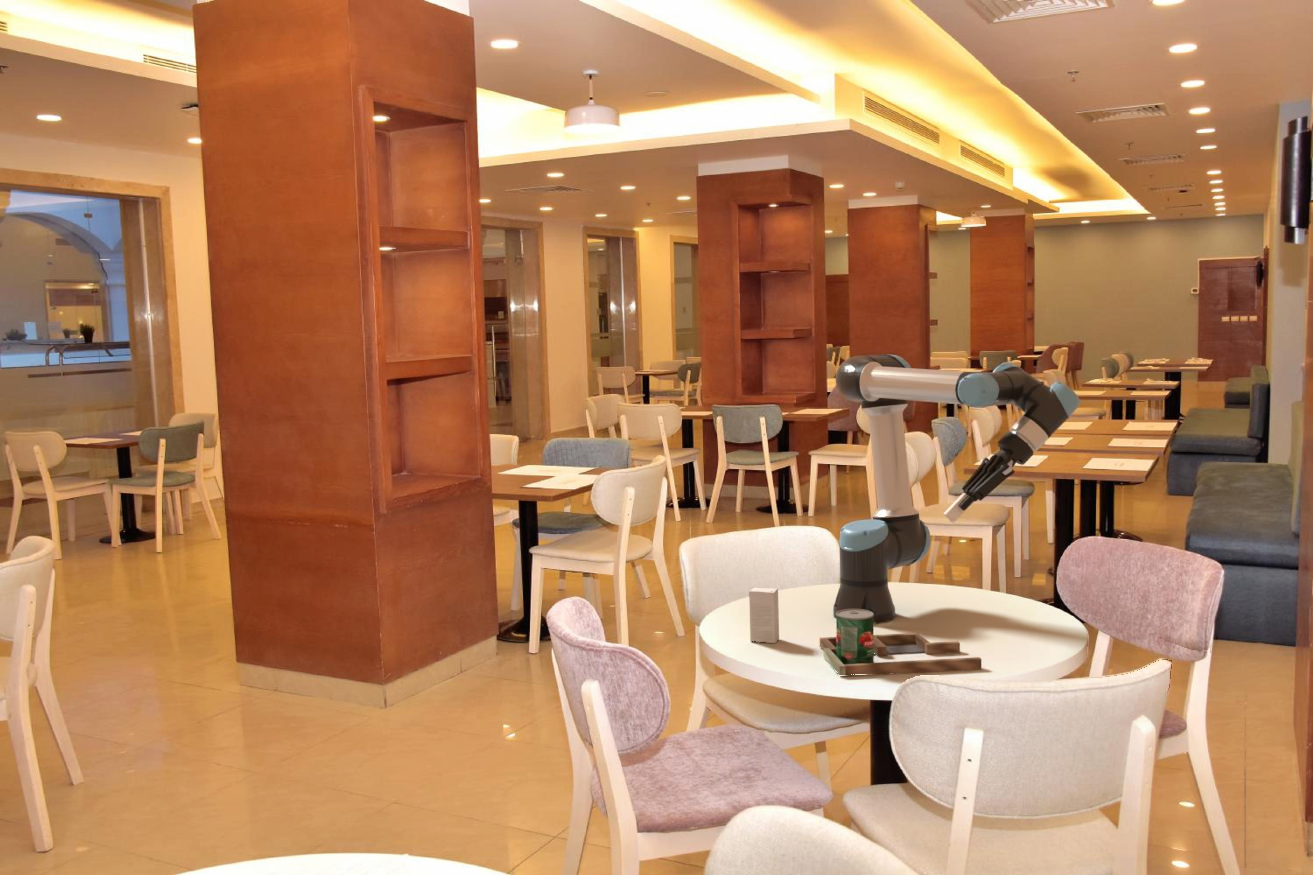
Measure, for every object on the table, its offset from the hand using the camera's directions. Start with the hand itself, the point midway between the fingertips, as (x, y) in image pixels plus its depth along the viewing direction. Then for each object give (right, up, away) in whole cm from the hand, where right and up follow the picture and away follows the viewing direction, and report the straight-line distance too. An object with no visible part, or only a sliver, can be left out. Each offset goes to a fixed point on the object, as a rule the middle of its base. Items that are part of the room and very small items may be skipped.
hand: (948, 518), depth 249 cm
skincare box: (-40, -29, +9) cm, 50 cm away
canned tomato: (-23, -31, -10) cm, 39 cm away
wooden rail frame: (-13, -30, -7) cm, 33 cm away
